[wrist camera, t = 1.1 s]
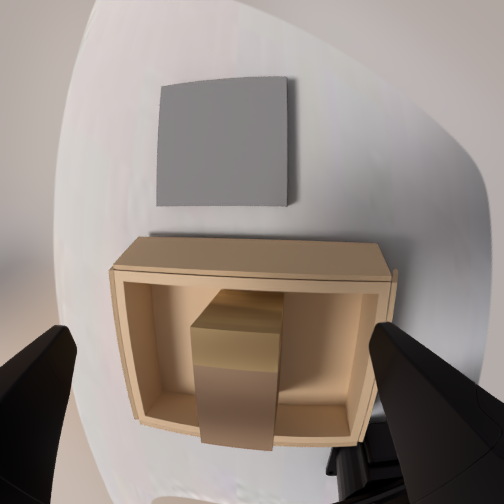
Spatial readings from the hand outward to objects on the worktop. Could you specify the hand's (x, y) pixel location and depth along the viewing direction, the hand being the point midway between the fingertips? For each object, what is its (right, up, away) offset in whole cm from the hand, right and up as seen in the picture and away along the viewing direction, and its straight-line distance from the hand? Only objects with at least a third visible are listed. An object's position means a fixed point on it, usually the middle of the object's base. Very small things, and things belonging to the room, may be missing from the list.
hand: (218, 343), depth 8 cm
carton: (+1, -4, +12) cm, 13 cm away
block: (+1, -4, +12) cm, 12 cm away
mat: (-1, +9, +10) cm, 14 cm away
